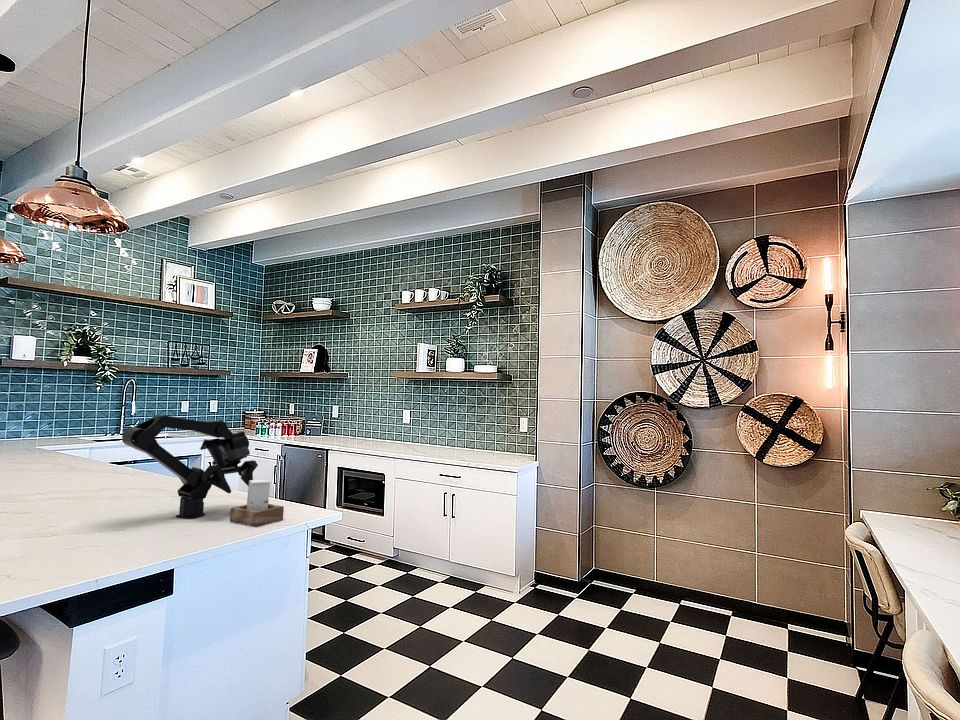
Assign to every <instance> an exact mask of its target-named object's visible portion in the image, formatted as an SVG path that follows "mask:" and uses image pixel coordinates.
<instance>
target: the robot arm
mask: <svg viewBox="0 0 960 720" xmlns="http://www.w3.org/2000/svg"><path fill="white" fill-rule="evenodd" d="M166 428H169V429H177V430H183V431H189V432H190V431H191V432H196V433H199V434H201V435H204V436H207V437H210V438H213V439H206V438H205V439H204V440H203V441H202V443H201V446H200V448H199V450H201V451H203V450H207V451H208V452H209V454H210V456H211V457H212V465H209V466H208V467H207V468H206V469H205V470H204V469H202V468H199V467H195V466H192V467H191V468H190V467H189V466H188V465H186V464H185V463H183V462H182V461H181V460H179V459H178V458H177V457H176V456H174V455H173V454H172V453H171V452H169V451H167V450H166V449H165V448H164V447H163V446H161V445H160V444H159V443H158V441H157V438H156V437H157V436H158V435H159V434H160V433H161V432H162V431H163V430H164V429H166ZM121 441H122V443H124V444H125V445H126V446H128V447H131V448H132V449H134V450H137V451H140V452H142V453H143V454H144V453H145V454H146V455H148V456H149V458H152V459H153V460H155V461H156V462H157V463H159V464H160V465H162V466H163V467H164V468H165V469H167V470H168V471H170V472H171V473H172V474H173V475H175V476H176V477H178V478H179V480H180V482H181V483H182V485H181V486H180V487H179V488H178V489H177V491H176V492H177V495H178V497H180V499H179V514H177V515H175V518H182V519H196V518H199V517H202V516H205V515H206V513H205V512H204V508H205V501H204V499H206V498H207V496H208V492H209V491H210V489H211V488H212V485H213V486H215V487H217V488H218V489H220V490H222V491H224V492H225V493H227V494H231V493H232V489H231V486H230V484H229V483H228V482H227V481H228V480H227V479H226V476H225V475H228V474H235V473H236V474H238V476H240V479H241V481H242V482H244V484H245V485H246V486H247V488H248V487H249V480H254V476H253V475H254V471H255V470H256V469H257V467H258V466H259V465H258V463H257V461H256V460H252V459H251V460H245V461H244V462H243V463H242V461H241V460H243V459H246V458H247V457H248V456H249V455H250V453H251V452H250V449H249V447H250V441H249V439H248V437H247V435H246V432H245V431H237V432H232V431H231V430H230V429H229V428H228V424H227V422H226V421H223V420H215V419H203V420H196V419H195V420H194V419H190V418H189V419H188V418H181V417H177V416H176V417H174V416H169V415H167V414H162V413H161V414H156V415H154V416H153V417H150V418H149V419H147V420H145V421H143V422H141V423H139V424H137V425H135V426H133V427H128V428H126V430H124V432H123V433H122V436H121ZM240 463H242V464H241V465H239V464H240Z"/></svg>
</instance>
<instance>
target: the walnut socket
mask: <svg viewBox="0 0 960 720" xmlns="http://www.w3.org/2000/svg"><path fill="white" fill-rule="evenodd" d="M284 509H285V508H284V505H283V506H282V505H278V504H272V503H268V509H265V510H260V511H253V510H247V504H244V505H243V504H242V505H239V506H233V507H230V511H229V512H230V514H229V522H230V521H231V522H230V523H232V522H236V523H235V524H237V523H241V524H240V525H242V524H245V525H244V526H247V525H250V526H249V527H252V526H254V527H253V528H258V527H257V526H259V527H262V526H265V524H266V525H270V524H273V522H274V523H277V521H278V522H280V520H281V521H283V520H284V512H285V510H284ZM269 523H270V524H269Z"/></svg>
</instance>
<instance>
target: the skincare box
mask: <svg viewBox="0 0 960 720" xmlns="http://www.w3.org/2000/svg"><path fill="white" fill-rule="evenodd" d="M270 487H271V481H269V480H268V479H255V480H254V479H253V480H249V487H248V486H247V488H248V490H247V500H246V505H247V510H253V511H260V510H265V509H268V504H269V500H270V499H269V498H270Z"/></svg>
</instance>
